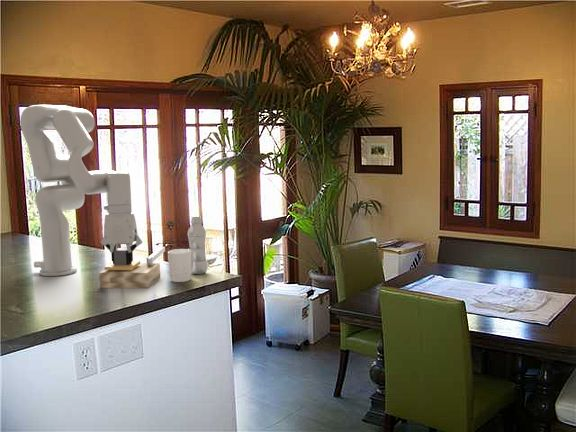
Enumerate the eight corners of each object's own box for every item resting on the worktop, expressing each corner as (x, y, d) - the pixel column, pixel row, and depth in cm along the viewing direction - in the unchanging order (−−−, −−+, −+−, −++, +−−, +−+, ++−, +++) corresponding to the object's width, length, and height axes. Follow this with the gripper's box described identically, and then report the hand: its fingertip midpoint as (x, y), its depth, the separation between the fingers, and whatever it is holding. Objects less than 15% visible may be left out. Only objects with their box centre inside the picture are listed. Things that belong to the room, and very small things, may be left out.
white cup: (189, 276, 215) (188, 248, 214) (194, 281, 208) (193, 252, 206) (167, 278, 212) (165, 250, 211) (171, 283, 205) (170, 254, 204)
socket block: (99, 287, 201) (99, 272, 201) (115, 277, 215) (114, 263, 214) (147, 287, 200) (147, 272, 199) (160, 277, 214) (159, 263, 213)
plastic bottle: (195, 276, 214) (193, 219, 211) (185, 273, 219) (183, 217, 216) (211, 273, 218) (209, 217, 215) (201, 270, 223) (199, 215, 220)
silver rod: (160, 253, 228) (159, 246, 228) (165, 253, 228) (165, 246, 228) (146, 266, 208) (145, 258, 207) (152, 266, 208) (151, 258, 207)
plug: (105, 278, 202) (103, 251, 201) (115, 272, 211) (113, 246, 210) (131, 279, 202) (130, 252, 200) (140, 272, 211) (139, 246, 209)
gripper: (90, 210, 200) (93, 265, 203) (140, 210, 199) (143, 266, 201) (99, 207, 208) (102, 261, 210) (148, 207, 206) (150, 261, 209)
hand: (122, 263), depth 206 cm, fingers closed on plug, 4 cm apart
